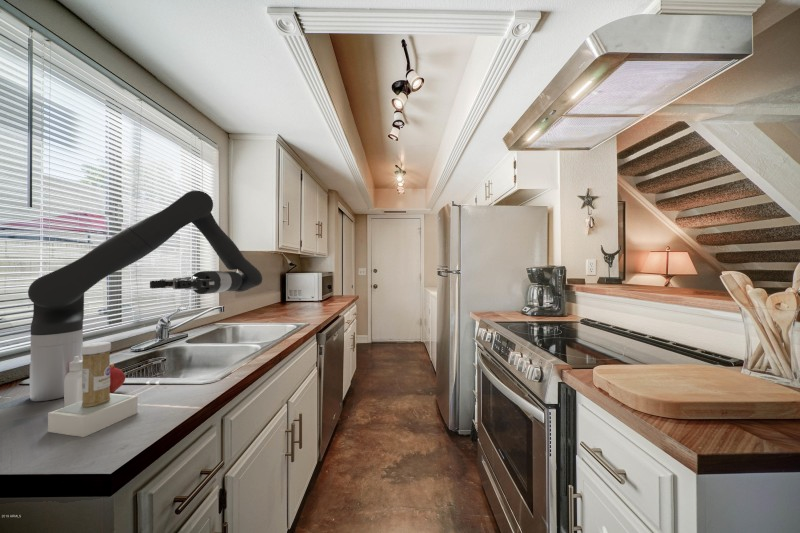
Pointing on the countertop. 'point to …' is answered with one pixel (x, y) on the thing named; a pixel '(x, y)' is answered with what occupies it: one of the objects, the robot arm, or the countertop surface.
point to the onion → (116, 378)
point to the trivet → (91, 415)
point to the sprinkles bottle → (96, 373)
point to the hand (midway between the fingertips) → (163, 284)
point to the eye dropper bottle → (73, 383)
